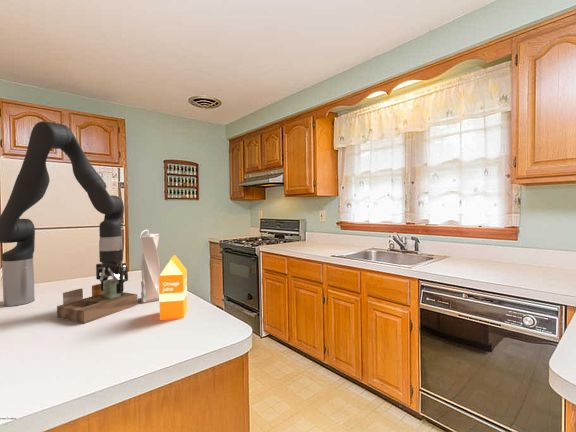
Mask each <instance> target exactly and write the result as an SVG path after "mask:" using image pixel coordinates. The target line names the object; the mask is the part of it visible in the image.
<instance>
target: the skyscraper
mask: <svg viewBox="0 0 576 432" xmlns="http://www.w3.org/2000/svg"><path fill="white" fill-rule="evenodd" d="M145 232H147V233H146V234H145V235H144V236H143V235H142V234H143V233H145ZM139 240H140V244H141V249H142V255H141V282H140V283H141V293H140V297H139V298H138V297H137V300H138V301H139V303H141V305H142V304H143V305H144V304H148V303H153V302H154V303H155V302H159V292H158V291H159V275H160V274H161V265H160V264H161V262H160V256H159V252H158V246H159V241H160V233H150V232H149V229H144V230H143V231H141V232H140V235H139Z"/></svg>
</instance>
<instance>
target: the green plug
mask: <svg viewBox="0 0 576 432" xmlns="http://www.w3.org/2000/svg"><path fill="white" fill-rule="evenodd" d="M118 279H119V280H120V278H118ZM116 284H117V283H116V281H115V279H113V278H110V279H109V278H108V280H105V281H103V297H104V298H106V299H113V298H116V297H119V296H121V293H120V294H117V289H116Z"/></svg>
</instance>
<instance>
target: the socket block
mask: <svg viewBox="0 0 576 432" xmlns="http://www.w3.org/2000/svg"><path fill="white" fill-rule="evenodd" d="M83 292H84V291H83V288H77V289H73V290H70V291H65V292H62V304H60V305H56V318H57V319H60V320H66V321H71V322H76V323H80V324H87V323H91V322H93V321H96V320H98V319H102V318H104V317H106V316H110V315H113V314H115V313H118V312H121V311H124V310H126V309H129V308H132V307H135V306H137V305H139V303H138V301H139V300H138V293H130V292H124V291H123V293H121V296H119V297H116V298H113V299H106V298H104V297H103V291H101V283H96V284H93V285H91V296H89V297H85V298H84V296H83V295H84V293H83Z"/></svg>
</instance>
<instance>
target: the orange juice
mask: <svg viewBox="0 0 576 432" xmlns="http://www.w3.org/2000/svg"><path fill="white" fill-rule="evenodd" d="M187 276H188V275H187V268H186V267H185V266H184V264H183V263H182V262H181V260H180V258H178V257H177V255H175V254H174V255H173V256H172V257H171V258H170V260H169V261H168V263H167V264H166V265H165V267H164V268H163V269H162V271H161V272H160V275H159V286H158V291H159V292H158V295H159V301H158V303H159V320H160V321H161V320H163V321H164V320H177V319H184V318H185V316H186V313H187V311H188V284H187V283H188V282H187V279H188V277H187Z"/></svg>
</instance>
